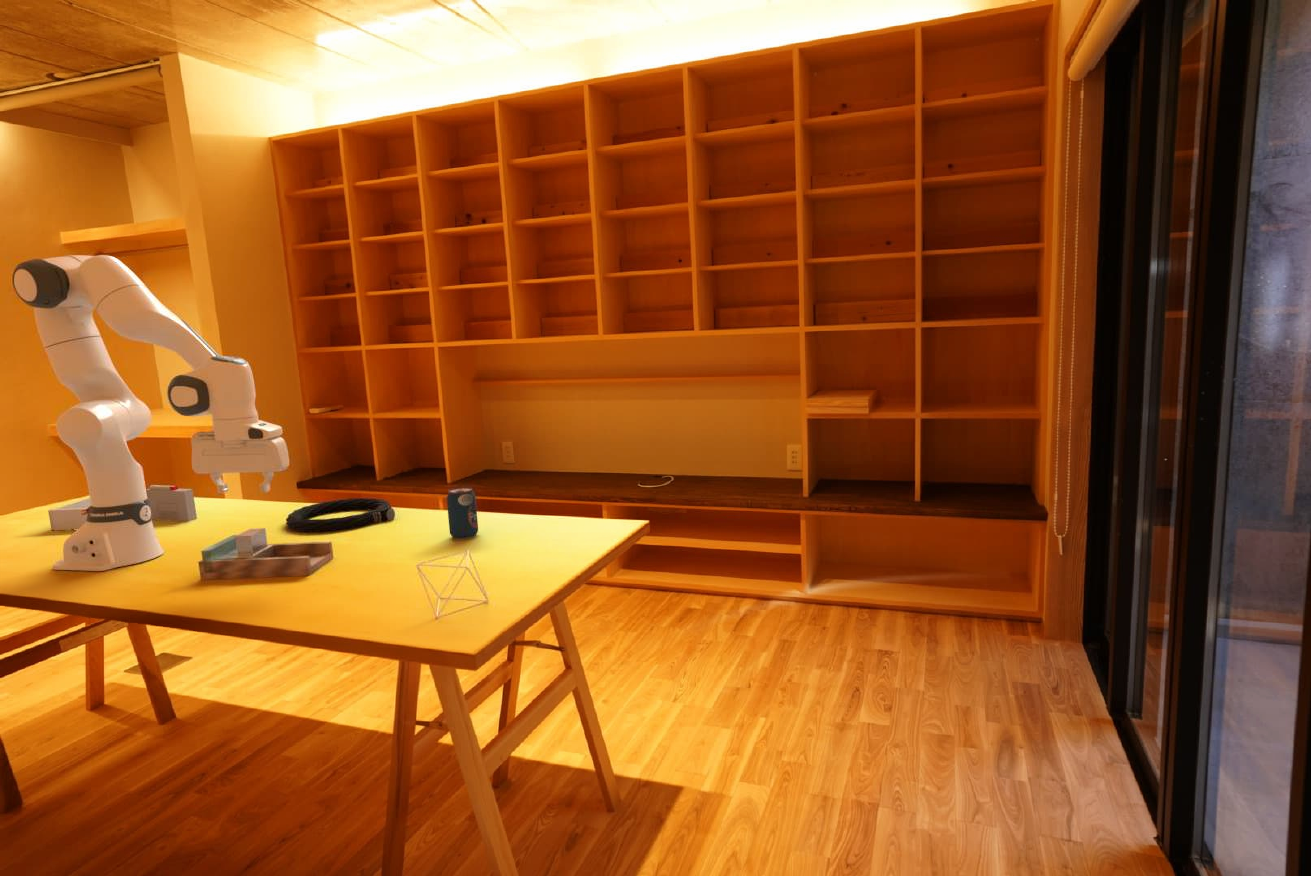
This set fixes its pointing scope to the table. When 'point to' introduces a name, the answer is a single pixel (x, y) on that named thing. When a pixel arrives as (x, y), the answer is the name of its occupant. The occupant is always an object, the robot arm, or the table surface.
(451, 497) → the soda can
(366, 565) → the table surface
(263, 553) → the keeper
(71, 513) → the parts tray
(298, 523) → the cable lock
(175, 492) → the cassette player
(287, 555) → the drawer
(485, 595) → the geometric polyhedron
